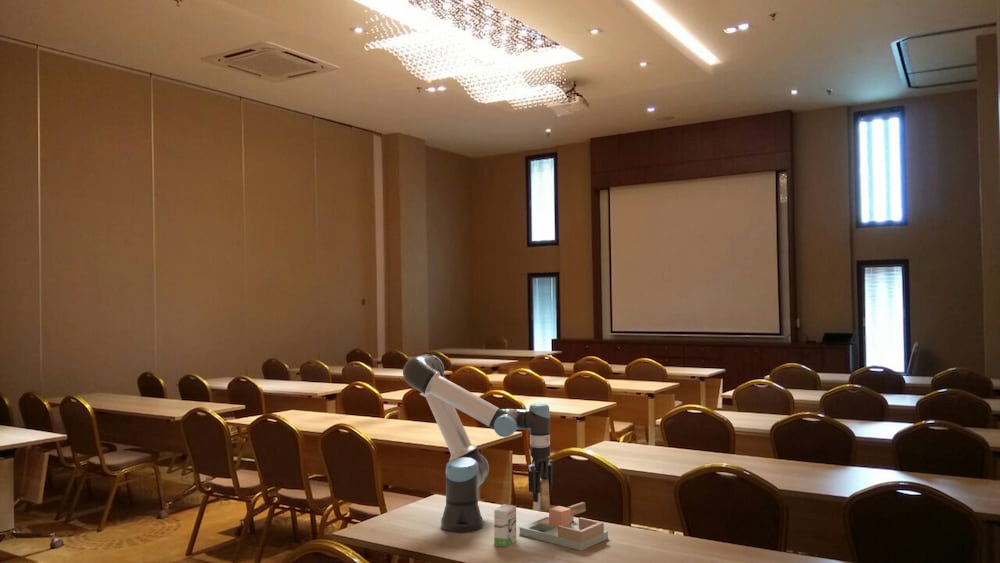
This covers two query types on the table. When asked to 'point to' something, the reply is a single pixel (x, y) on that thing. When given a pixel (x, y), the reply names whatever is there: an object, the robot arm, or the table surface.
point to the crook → (546, 505)
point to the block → (560, 516)
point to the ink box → (504, 525)
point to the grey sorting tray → (567, 533)
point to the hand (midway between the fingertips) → (541, 508)
